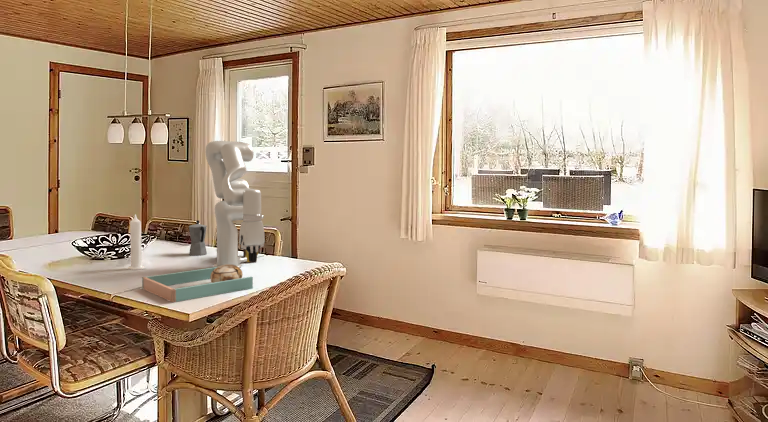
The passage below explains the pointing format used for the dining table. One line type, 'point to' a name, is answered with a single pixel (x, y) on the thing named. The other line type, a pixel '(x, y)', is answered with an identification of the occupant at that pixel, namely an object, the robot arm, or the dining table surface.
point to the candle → (135, 245)
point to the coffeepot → (197, 239)
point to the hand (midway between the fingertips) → (252, 261)
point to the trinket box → (226, 273)
